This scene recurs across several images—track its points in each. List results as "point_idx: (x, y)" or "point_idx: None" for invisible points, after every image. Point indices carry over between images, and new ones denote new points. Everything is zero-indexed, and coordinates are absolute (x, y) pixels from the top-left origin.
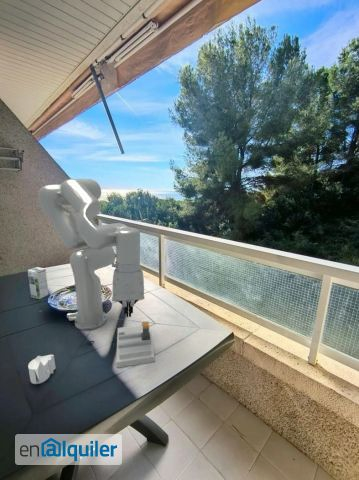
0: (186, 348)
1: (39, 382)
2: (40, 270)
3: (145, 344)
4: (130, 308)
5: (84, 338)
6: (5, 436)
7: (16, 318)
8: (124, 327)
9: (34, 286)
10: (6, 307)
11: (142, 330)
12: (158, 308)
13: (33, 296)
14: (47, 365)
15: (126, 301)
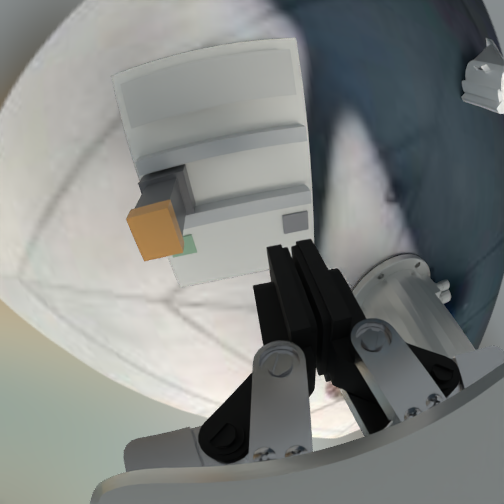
0: (21, 174)
1: (475, 61)
2: None
3: (164, 149)
4: (293, 315)
5: (411, 216)
6: None
7: (494, 279)
8: None
9: None
10: (494, 303)
11: (199, 248)
12: (175, 361)
13: None
14: (493, 79)
15: (349, 389)
